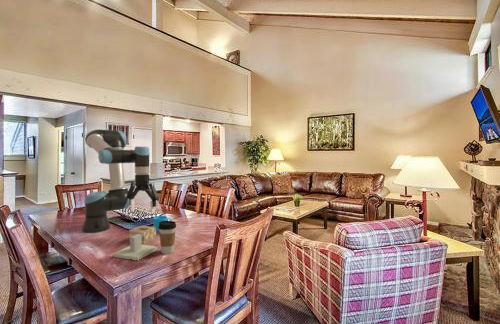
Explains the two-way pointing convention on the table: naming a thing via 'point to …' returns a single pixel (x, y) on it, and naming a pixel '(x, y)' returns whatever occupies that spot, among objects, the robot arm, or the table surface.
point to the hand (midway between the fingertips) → (142, 211)
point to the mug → (159, 219)
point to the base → (135, 254)
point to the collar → (144, 233)
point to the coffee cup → (167, 236)
